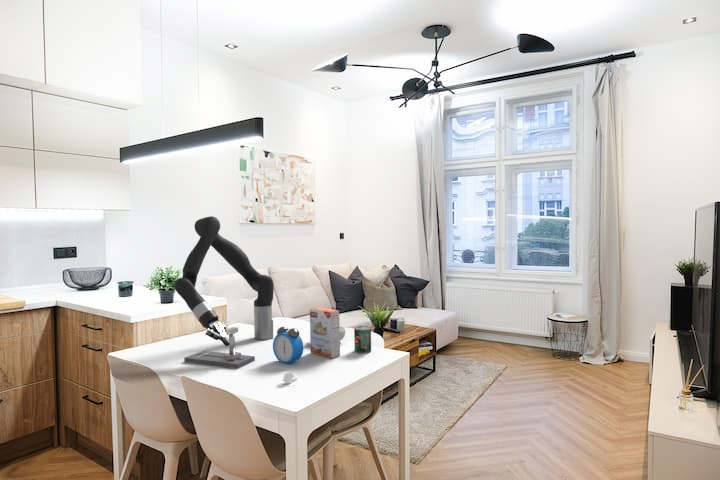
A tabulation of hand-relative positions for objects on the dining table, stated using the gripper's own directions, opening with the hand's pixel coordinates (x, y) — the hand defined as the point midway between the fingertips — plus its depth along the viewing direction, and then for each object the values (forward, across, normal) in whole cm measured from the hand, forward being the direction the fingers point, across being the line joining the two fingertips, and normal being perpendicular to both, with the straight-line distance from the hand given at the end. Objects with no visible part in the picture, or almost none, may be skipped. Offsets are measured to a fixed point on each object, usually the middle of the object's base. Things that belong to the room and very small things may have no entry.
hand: (228, 344), depth 197 cm
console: (+2, 0, +9) cm, 9 cm away
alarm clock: (+23, +9, -11) cm, 27 cm away
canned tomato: (+40, +36, -28) cm, 61 cm away
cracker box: (+30, +25, -18) cm, 43 cm away
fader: (+5, 0, +3) cm, 6 cm away
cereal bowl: (+24, +45, -13) cm, 53 cm away
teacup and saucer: (+34, -12, -22) cm, 43 cm away
